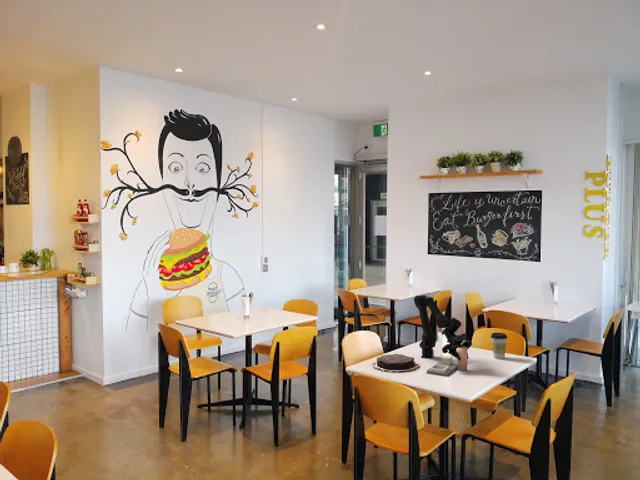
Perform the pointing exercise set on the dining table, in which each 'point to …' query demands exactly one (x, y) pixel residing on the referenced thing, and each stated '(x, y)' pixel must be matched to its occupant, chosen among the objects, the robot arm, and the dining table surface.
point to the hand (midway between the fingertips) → (464, 359)
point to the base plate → (443, 367)
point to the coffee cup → (499, 345)
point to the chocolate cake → (395, 363)
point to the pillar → (462, 359)
